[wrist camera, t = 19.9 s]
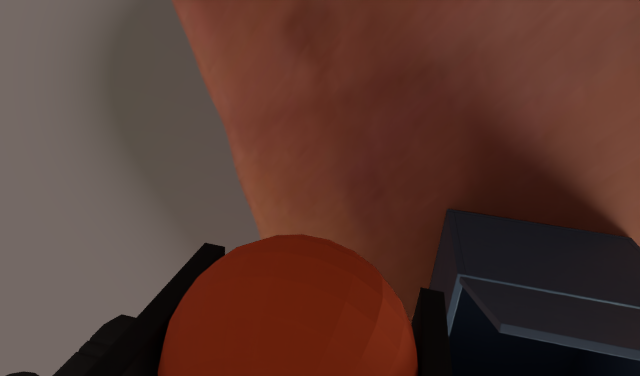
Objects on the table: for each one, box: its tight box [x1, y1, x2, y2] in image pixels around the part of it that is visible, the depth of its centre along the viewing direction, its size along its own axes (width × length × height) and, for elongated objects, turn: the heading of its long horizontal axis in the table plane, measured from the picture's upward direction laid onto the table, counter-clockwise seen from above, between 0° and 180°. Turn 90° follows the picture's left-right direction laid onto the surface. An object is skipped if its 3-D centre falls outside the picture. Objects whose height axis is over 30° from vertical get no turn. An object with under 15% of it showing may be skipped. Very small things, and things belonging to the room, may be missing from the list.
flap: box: [459, 277, 640, 361], centre depth 20 cm, size 9×14×1 cm
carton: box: [429, 209, 640, 376], centre depth 32 cm, size 19×14×10 cm
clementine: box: [158, 234, 419, 376], centre depth 12 cm, size 8×7×7 cm
